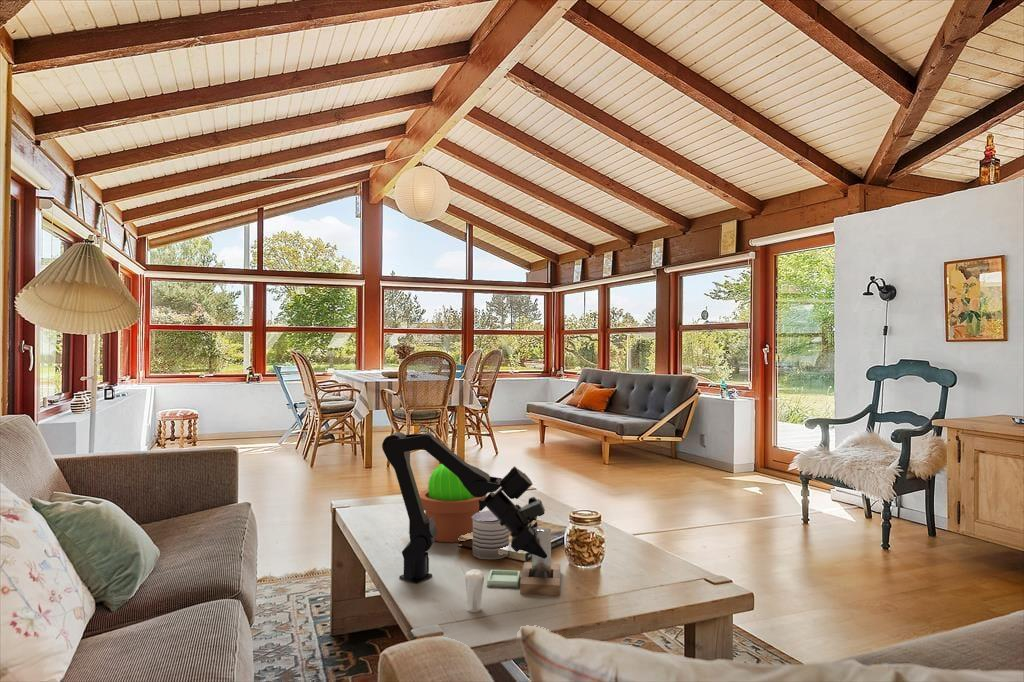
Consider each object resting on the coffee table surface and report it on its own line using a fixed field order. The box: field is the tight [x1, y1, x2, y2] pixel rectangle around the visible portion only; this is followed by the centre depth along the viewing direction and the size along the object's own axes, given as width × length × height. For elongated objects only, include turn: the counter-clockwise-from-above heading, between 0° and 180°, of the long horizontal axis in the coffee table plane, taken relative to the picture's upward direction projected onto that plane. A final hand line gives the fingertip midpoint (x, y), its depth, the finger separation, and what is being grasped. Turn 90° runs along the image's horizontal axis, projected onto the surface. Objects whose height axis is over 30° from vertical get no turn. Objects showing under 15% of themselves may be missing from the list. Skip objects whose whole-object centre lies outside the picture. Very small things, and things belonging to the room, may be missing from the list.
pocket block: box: [519, 561, 561, 596], centre depth 167 cm, size 10×16×2 cm, turn 175°
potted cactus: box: [419, 463, 487, 544], centre depth 209 cm, size 22×22×25 cm
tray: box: [486, 569, 521, 588], centre depth 168 cm, size 8×8×2 cm
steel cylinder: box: [531, 526, 552, 578], centre depth 167 cm, size 5×5×14 cm
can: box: [471, 509, 510, 561], centre depth 191 cm, size 11×11×12 cm
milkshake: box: [461, 568, 485, 613], centre depth 150 cm, size 5×5×10 cm
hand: (546, 554), depth 167 cm, fingers closed on steel cylinder, 5 cm apart
